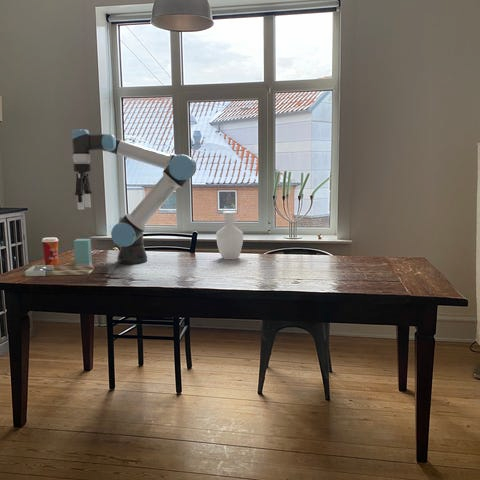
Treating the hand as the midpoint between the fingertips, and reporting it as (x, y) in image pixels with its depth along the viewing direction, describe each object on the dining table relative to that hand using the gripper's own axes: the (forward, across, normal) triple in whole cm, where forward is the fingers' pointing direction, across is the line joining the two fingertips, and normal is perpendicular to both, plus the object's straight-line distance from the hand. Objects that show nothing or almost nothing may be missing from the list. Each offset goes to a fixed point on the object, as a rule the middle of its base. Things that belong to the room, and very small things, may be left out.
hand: (84, 208), depth 215 cm
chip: (+28, +13, -18) cm, 36 cm away
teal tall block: (+29, +3, -1) cm, 29 cm away
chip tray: (+29, +14, -18) cm, 37 cm away
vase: (+29, -15, +71) cm, 78 cm away
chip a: (+28, +17, -18) cm, 37 cm away
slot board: (+29, +14, -4) cm, 32 cm away
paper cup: (+29, -4, -18) cm, 34 cm away
